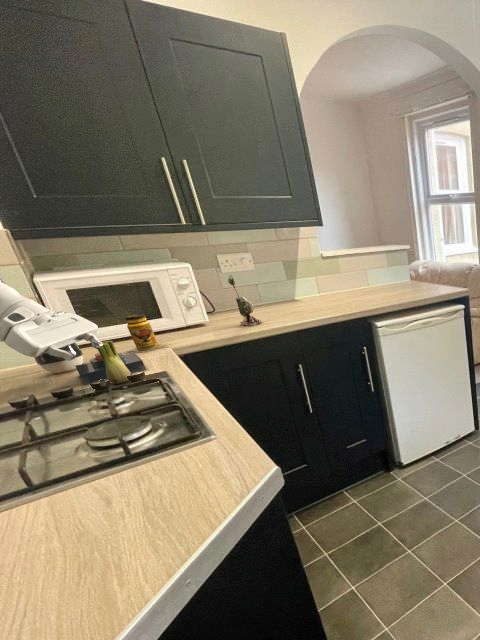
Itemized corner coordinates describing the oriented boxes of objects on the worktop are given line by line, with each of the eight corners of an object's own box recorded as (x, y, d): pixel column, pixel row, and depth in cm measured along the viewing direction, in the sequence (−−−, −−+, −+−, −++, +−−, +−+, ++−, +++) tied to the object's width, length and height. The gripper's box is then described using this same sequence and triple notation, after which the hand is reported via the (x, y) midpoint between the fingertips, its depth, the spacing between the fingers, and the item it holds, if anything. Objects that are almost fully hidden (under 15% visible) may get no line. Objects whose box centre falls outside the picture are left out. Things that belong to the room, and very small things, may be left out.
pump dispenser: (34, 376, 127) (6, 327, 121) (75, 364, 136) (51, 319, 130) (56, 375, 124) (28, 325, 118) (96, 364, 133) (72, 317, 127)
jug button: (98, 362, 122) (95, 356, 122) (95, 359, 125) (93, 353, 124) (117, 357, 125) (115, 352, 125) (115, 354, 128) (112, 349, 127)
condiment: (147, 351, 145) (133, 318, 140) (126, 351, 146) (111, 318, 141) (166, 345, 151) (153, 312, 146) (146, 344, 153) (132, 312, 148)
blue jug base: (84, 385, 119) (76, 368, 117) (79, 375, 126) (71, 360, 124) (146, 369, 128) (139, 354, 126) (138, 361, 135) (131, 347, 133)
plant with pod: (239, 329, 167) (222, 278, 159) (240, 322, 176) (224, 274, 168) (262, 325, 171) (247, 275, 163) (261, 319, 180) (247, 272, 172)
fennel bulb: (118, 387, 116) (99, 346, 111) (104, 386, 117) (84, 345, 112) (139, 378, 121) (121, 339, 116) (125, 377, 122) (107, 338, 118)
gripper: (59, 318, 120) (111, 348, 125) (-14, 340, 101) (49, 374, 106) (69, 302, 118) (121, 333, 123) (-4, 320, 100) (60, 356, 105)
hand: (87, 352), depth 114 cm, fingers open, 8 cm apart
